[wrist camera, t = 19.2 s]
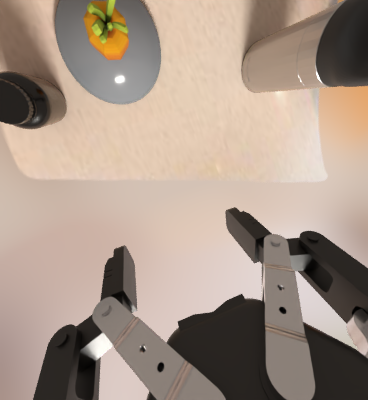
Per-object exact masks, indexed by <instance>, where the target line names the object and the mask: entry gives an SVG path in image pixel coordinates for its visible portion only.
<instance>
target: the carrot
mask: <svg viewBox="0 0 368 400" xmlns="http://www.w3.org/2000/svg"><path fill="white" fill-rule="evenodd" d="M114 4H115V0H107V1H91V3H89V4H88V6H87V11H86V14H85V16H84V18H83V19H84V23H85V27H86V31H87V34H88V38H89V41H90V43H91V44H92V45H93V47H94V48H95V49H96V50H98V51H99V52H100V53H101V54H102V55H103V56H104V57H105V58H106V59H107V60H121V59H122V57H123V55H124V54H125V52H126V50H127V48H128V45H129V38H128V32H129V31H128V28H127V26H126V21H125V18H124V17H123V16H122V15H121V14H120V12H119V11H118V10H117V9H116V8H115V7H114Z"/></svg>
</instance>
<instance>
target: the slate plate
mask: <svg viewBox="0 0 368 400" xmlns="http://www.w3.org/2000/svg"><path fill="white" fill-rule="evenodd" d="M91 1H107V0H60V1H59V4H58V6H57V11H56V18H55V31H56V38H57V43H58V46H59V50H60V52H61V55H62V58H63V60H64V62H65V64H66V66H67V67H68V69H69V71H70V72H71V74H72V75H73V76H74V78H75V79H76V80H77V81H78V82H79V83H80V85H81V86H82V87H84V88H85V89H86V90H87V91H88V92H90V93H91V94H92V95H94V96H95V97H97V98H99V99H101V100H104V101H106V102H109V103H113V104H129V103H133V102H136V101H138V100H140V99H141V98H143V97H144V96H145V95H146V94H148V93H149V91H150V90H151V89H152V87H153V86H154V84H155V82H156V80H157V77H158V74H159V70H160V64H161V48H160V42H159V37H158V34H157V30H156V28H155V25H154V23H153V20H152V18H151V16H150V15H149V13H148V11H147V9H146V8H145V7H144V5H143V4H142V2H141V1H140V0H115V4H114V7H115V8H116V9H117V10H118V11H119V12H120V14H121V15H122V16H123V17H124V18H125V21H126V26H127V28H128V31H129V32H128V38H129V45H128V48H127V50H126V52H125V54H124V55H123V57H122V59H121V60H107V59H106V58H105V57H104V56H103V55H102V54H101V53H100V52H99V51H98V50H96V49H95V48H94V47H93V45H92V44H91V43H90V41H89V38H88V34H87V31H86V27H85V23H84V19H83V18H84V16H85V14H86V11H87V6H88V4H89V3H91Z"/></svg>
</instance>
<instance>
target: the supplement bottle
mask: <svg viewBox="0 0 368 400" xmlns="http://www.w3.org/2000/svg"><path fill="white" fill-rule="evenodd" d="M66 110H67V107H66V101H65V99H64V97H63V95H62V93H61V92H60V91H59V90H58V89H57V88H56V87H55V86H54V85H53V84H51V83H50V82H48V81H46V80H44V79H41V78H37V77H33V76H29V75H24V74H20V73H16V72H9V71H4V72H0V122H4V123H6V124H11V125H14V126H17V127H20V128H24V129H37V128H41V127H44V126H47V125H50V124H53V123H56V122H58V121H60V120H61V119H63V117H64V116H65V114H66Z"/></svg>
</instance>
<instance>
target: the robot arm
mask: <svg viewBox="0 0 368 400" xmlns="http://www.w3.org/2000/svg"><path fill="white" fill-rule="evenodd" d="M242 78H243V81H244V84H245V86H246V87H247V88H248V90H250V91H251V92H254V93H261V92H275V91H287V90H300V89H312V88H322V87H337V86H345V87H356V86H368V0H344V1H342V2H340V3H338V4H336V5H333V6H331V7H329V8H327V9H325V10H323V11H321V12H319V13H317V14H315V15H312V16H310V17H308V18H306V19H304V20H302V21H300V22H298V23H295V24H293V25H291V26H289V27H287V28H285V29H283V30H280V31H278V32H276V33H274V34H272V35H270V36H268V37H265V38H263V39H261V40H259V41H257V42H256V43H254V44H253V45H252V46H251V47H250V49H249V50H248V52H247V53H246V55H245V58H244V61H243V65H242ZM226 224H227V228H228V231H229V232H230V234H231V235H232V236H233V237H234V239H235V240H236V241H237V242H238V244H239V245H240V246H241V247H242V248H243V250H244V251H245V252H246V253H247V255H248V256H249V257H250V258H251V260H252V261H253V262H254V263H257V262H259V261H260V262H261V263H262V295H261V300H257V299H245V298H244V296H243V295H242V294H241V295H238V296H236V297H234V298H232V299H229V300H227V301H226V302H224V303H223V304H222V305H221V306H220V307H218V308H217V309H216V310H215V311H214V312H211V313H203V314H195V315H192V316H190V317H188V318H185V319H183V320H181V321H178V325H179V328H178V329H177V330H175V331H174V333H173V334H172V335H171V336H170V338H169V339H168V341H167V343H166V342H165V341H164V340H163V339H161V338H160V337H159V336H158V335H157V334H156V333H155V332H154V331H153V330H152V329H150V328H149V327H148V326H147V325H146V324H145V323H144V322H143V321H141V320H140V319H139V318H138V317H135V316H134V315H133V314H132V313H133V312H135V311H137V298H136V279H135V265H134V261H133V259H132V257H131V255H130V253H129V251H128V249H127V248H126V246H121V247H119V248H116V249H114V256H113V257H112V258H109V259H108V261H107V263H106V265H105V270H104V279H103V287H102V293H101V301H100V302H99V303H98V304H97V306H96V307H95V309H94V311H93V314H92V315H91V316H90V317H89V318H88V319H86V320H85V321H83V322H82V323H80V324H79V325H78V326H74V325H66V326H64V327H62V328H61V329H60V330H58V331H57V332H56V333H55V334H54V336H53V337H52V338H51V340H50V342H49V344H48V347H47V350H46V354H45V358H44V361H43V365H42V369H41V373H40V376H39V380H38V383H37V387H36V391H35V394H34V398H33V400H98V399H99V379H100V359H101V356H102V355H103V354H104V353H105V352H107V351H108V350H109V349H110V348H111V347H113V346H114V348H115V349H116V351H117V352H118V353H119V354H120V355H121V357H122V358H123V359H124V360H125V362H126V363H127V364H128V365H129V366H130V368H131V369H132V370H133V371H134V372H135V373H136V375H137V376H138V377H139V379H140V380H141V381H142V382H143V383H144V385H145V386H146V387H147V388H148V390H149V394H148V397H147V400H368V268H366V267H365V266H364V265H362V264H361V263H360V262H358V261H357V260H356V259H354V258H353V257H351V256H350V255H349V254H347V253H346V252H345V251H343V250H342V249H341V248H339V247H338V246H336V245H335V244H334V243H332V242H331V241H330V240H328V239H327V238H325V237H324V236H323V235H321V234H319V233H317V232H314V231H305V232H302V233H301V234H300V237H299V238H292V239H285V238H284V237H282V236H280V235H276V234H272V233H270V232H269V231H268V230H267V229H266V228H265V227H264V226H263V225H261V224H260V223H259V222H258V221H257V220H256V219H254V217H252V216H251V215H250V214H249V213H246V212H244V211H243V212H240V211H239V210H238V209H237V208H235V207H234V208H231V209H228V210H226ZM295 271H298V272H299V273H300V274H301V275H302V276H303V277H304V278H305V279H306V280H307V282H308V283H309V284H310V285H311V286H312V287H313V288H314V289H315V290H316V291H317V292H318V293H319V294H320V295H321V297H322V298H323V299H324V300H325V301H326V302H327V303H328V304H329V305H330V306H331V307H332V308H333V309H334V310H335V312H336V313H337V314H338V315H339V316H340V317H341V318H342V319H343V320H344V321H345V322H346V323H347V332H348V334H349V336H350V338H351V339H352V340H353V343H354V344H355V345H356V346H357V348H358V351H357V350H356V349H354V348H352V347H351V346H348V345H347V344H345V343H343V342H341V341H339V340H337V339H335V338H333V337H331V336H329V335H327V334H326V333H324V332H322V331H320V330H318V329H316V328H314V327H312V326H310V325H308V324H306V323H304V322H303V320H302V313H301V307H300V301H299V295H298V288H297V282H296V276H295Z"/></svg>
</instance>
